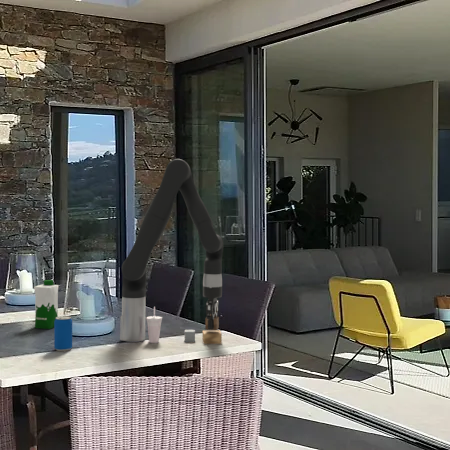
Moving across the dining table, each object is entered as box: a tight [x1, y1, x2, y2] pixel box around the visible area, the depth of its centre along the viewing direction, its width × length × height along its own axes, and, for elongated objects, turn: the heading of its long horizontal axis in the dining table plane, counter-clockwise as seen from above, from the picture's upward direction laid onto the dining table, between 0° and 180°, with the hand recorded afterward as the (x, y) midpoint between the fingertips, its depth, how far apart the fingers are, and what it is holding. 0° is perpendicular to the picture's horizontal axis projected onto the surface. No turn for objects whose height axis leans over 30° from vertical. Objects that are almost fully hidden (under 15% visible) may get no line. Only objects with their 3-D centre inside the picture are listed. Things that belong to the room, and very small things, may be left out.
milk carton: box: [33, 279, 59, 330], centre depth 288 cm, size 9×9×20 cm
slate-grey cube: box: [184, 329, 196, 343], centre depth 266 cm, size 4×4×4 cm
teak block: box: [201, 329, 223, 345], centre depth 264 cm, size 7×7×4 cm
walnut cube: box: [204, 316, 220, 331], centre depth 264 cm, size 4×4×4 cm
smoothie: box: [145, 306, 163, 344], centre depth 262 cm, size 6×6×14 cm
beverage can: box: [53, 315, 73, 352], centre depth 248 cm, size 6×6×12 cm
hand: (212, 327), depth 264 cm, fingers closed on walnut cube, 4 cm apart
